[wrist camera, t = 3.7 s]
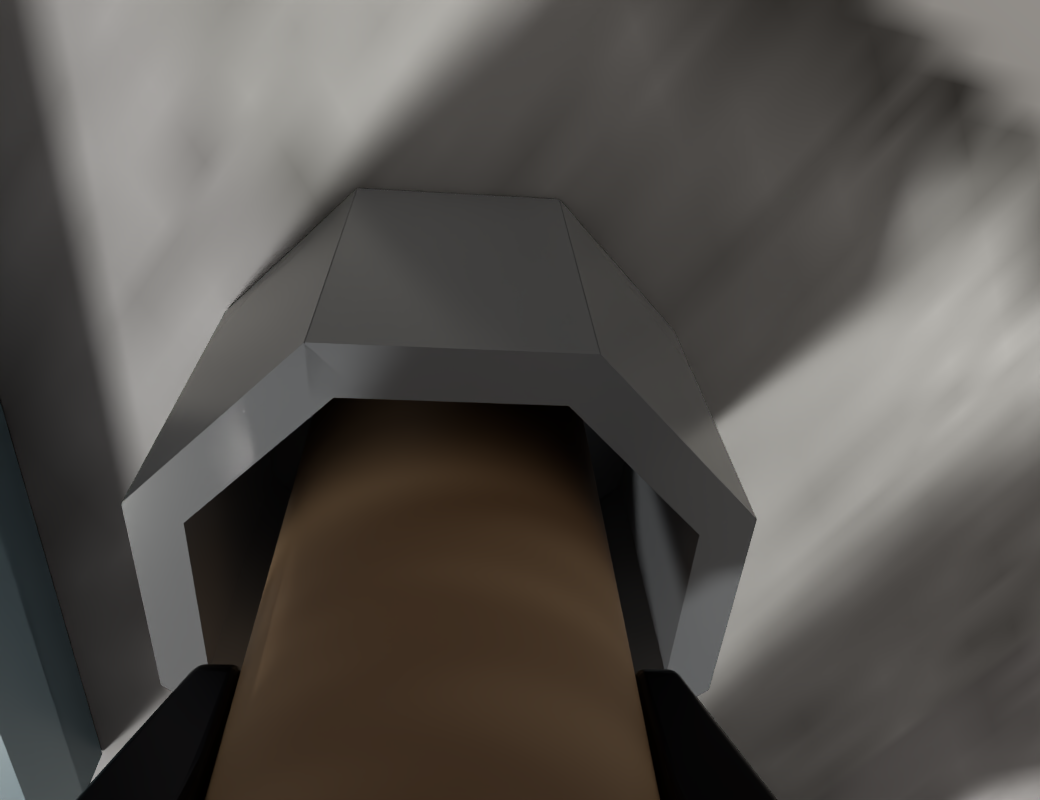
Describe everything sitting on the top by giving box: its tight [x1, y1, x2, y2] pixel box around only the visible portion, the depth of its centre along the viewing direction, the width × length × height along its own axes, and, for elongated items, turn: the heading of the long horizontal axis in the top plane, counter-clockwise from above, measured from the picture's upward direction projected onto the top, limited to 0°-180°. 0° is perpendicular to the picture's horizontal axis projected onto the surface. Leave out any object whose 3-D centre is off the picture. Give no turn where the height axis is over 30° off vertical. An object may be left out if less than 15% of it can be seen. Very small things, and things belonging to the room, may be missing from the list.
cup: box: [121, 188, 757, 697], centre depth 12 cm, size 7×7×4 cm
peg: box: [205, 398, 660, 800], centre depth 10 cm, size 4×4×8 cm
